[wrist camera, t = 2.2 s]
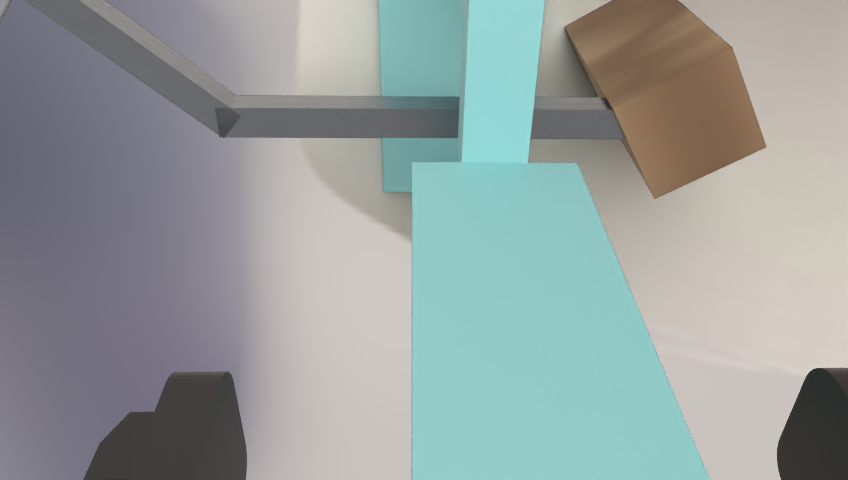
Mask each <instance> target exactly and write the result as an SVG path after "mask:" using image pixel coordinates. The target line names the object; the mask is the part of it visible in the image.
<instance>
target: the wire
mask: <svg viewBox="0 0 848 480" xmlns="http://www.w3.org/2000/svg"><path fill="white" fill-rule="evenodd" d="M25 1H27V2H28V3H30V4H31V5H32V6H34V7H35V8H37V9H38V10H40V11H41V12H43V13H44V14H45V15H47V16H48V17H50V18H51V19H53V20H54V21H56V22H57V23H58V24H60V25H61V26H63V27H64V28H66V29H67V30H68V31H70V32H72V33H73V34H74V35H76V36H77V37H79V38H80V39H81V40H83V41H84V42H86V43H87V44H89V45H90V46H91V47H93V48H94V49H96V50H97V51H99V52H100V53H102V54H103V55H104V56H106V57H108V58H109V59H110V60H112V61H113V62H115V63H116V64H117V65H119V66H120V67H122V68H123V69H125V70H126V71H127V72H129V73H130V74H132V75H133V76H135V77H136V78H138V79H139V80H140V81H142V82H144V83H145V84H146V85H148V86H149V87H151V88H152V89H154V90H155V91H156V92H158V93H159V94H161V95H162V96H164V97H165V98H166V99H168V100H169V101H171V102H172V103H174V104H175V105H177V106H178V107H180V108H181V109H182V110H184V111H185V112H187V113H188V114H189V115H191V116H192V117H194V118H195V119H197V120H198V121H200V122H201V123H203V124H204V125H205V126H207V127H208V128H210V129H211V130H212V131H214V132H215V133H217V134H218V135H219V137H223V138H225V137H269V138H270V137H271V138H272V137H273V138H276V137H277V138H285V137H286V138H290V137H291V138H458V125H459V102H460V97H455V96H265V95H264V96H262V95H258V96H257V95H255V96H254V95H246V96H245V95H235V94H234V93H232V92H231V91H229V90H228V89H227V88H225V87H224V86H223V85H221V84H220V83H218V82H217V81H216V80H214V79H213V78H212V77H210V76H209V75H208V74H206V73H205V72H203V71H202V70H201V69H199V68H198V67H196V66H195V65H194V64H192V63H191V62H190V61H188V60H187V59H186V58H184V57H183V56H181V55H180V54H179V53H177V52H176V51H175V50H173V49H172V48H170V47H169V46H168V45H166V44H165V43H164V42H162V41H161V40H159V39H158V38H156V37H155V36H154V35H153V34H151V33H150V32H148V31H147V30H146V29H144V28H143V27H141V26H140V25H139V24H137V23H136V22H135V21H133V20H132V19H130V18H129V17H128V16H126V15H125V14H124V13H122V12H121V11H119V10H118V9H117V8H115V7H114V6H113V5H111V4H110V3H108V2H107V1H106V0H25ZM530 139H626V137H625V135H624V133H623V130H622V128H621V126H620V124H619V122H618V120H617V117H616V115H615V113H614V111H613V109H612V107H611V106H610V104H609V102H608V101H607V99H606V97H535V99H534V108H533V118H532V127H531V137H530Z"/></svg>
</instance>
